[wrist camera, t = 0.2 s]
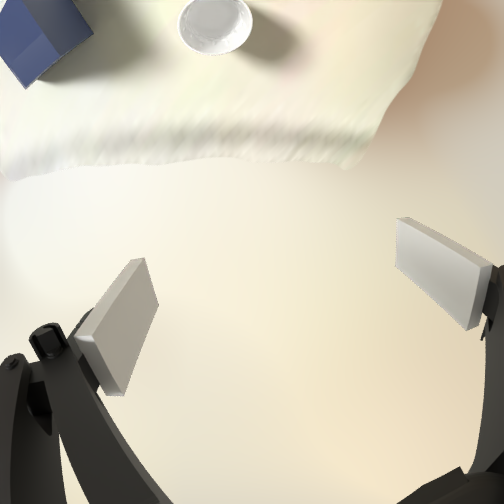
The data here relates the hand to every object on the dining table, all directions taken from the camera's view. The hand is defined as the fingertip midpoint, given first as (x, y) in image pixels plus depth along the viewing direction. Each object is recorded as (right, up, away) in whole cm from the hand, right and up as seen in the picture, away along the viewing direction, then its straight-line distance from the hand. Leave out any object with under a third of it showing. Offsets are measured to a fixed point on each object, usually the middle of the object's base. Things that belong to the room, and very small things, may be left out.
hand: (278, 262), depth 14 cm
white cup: (-7, +32, +15) cm, 36 cm away
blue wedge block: (-31, +32, +9) cm, 45 cm away
